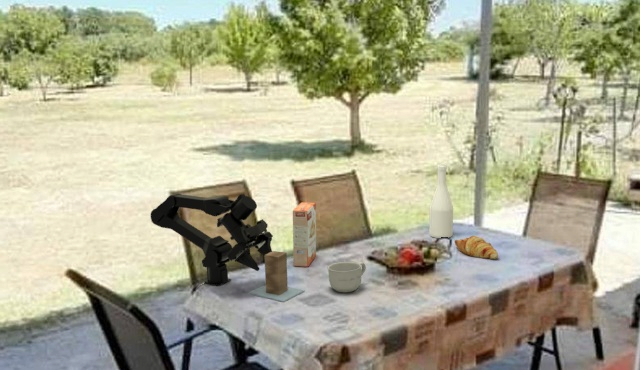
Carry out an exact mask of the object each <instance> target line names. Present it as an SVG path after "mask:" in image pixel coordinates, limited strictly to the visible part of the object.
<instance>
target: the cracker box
mask: <svg viewBox="0 0 640 370" xmlns="http://www.w3.org/2000/svg"><path fill="white" fill-rule="evenodd" d="M316 205H317V204H316V202H305V201H304V202H302V201H301V202H300V203H299V204H298V205H297V206H296V207H295V208H294V209H292V241H293V242H292V243H293V244H292V247H293V248H292V249H293V250H292V251H293V252H292V253H293V256H292V257H293V267H303V268H304V267H305V268H306V267H307V268H308V267H309V266H310V265H311V264H312V262H313V261H314V259H315V258H316V256H317V227H316V225H317V223H316V222H317V219H316V218H317V214H316V213H317V209H316Z"/></svg>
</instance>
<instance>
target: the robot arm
mask: <svg viewBox="0 0 640 370" xmlns="http://www.w3.org/2000/svg"><path fill="white" fill-rule="evenodd" d="M257 207H258V205H257V202H256V200H254V199H253V198H252V197H250V196H248V195H246V194H245V193H241V194H239V195H238V196H237V198H236V199H235V200H233V199H229V197H228V196H227V195H218V196H212V197H210V196H209V197H203V196H198V195H197V196H195V195H188V194H181V193H174V194H171V195H168V197H166V199H164V200H163V202H161V203H160V204H159V205H158V206H156V208H153V209H152V210H151V212H150V220H151V223H153V224H154V225H155V226H157V227H160V228H162V229H163V228H164V229H169V230H172V231H174V232H175V233H177V234H178V235H180V236H181V237H183V238H184V239H186V240H187V241H189V242H190V243H192V244H193V245H195V246H197V247H198V248H199V249H201V250H202V253H203V254H204V258H203V259H202V260H201V264H202V266H203V267H202V268H206V273H207V274H206V276H207V277H206V278H207V280H204V281H203V282H204V283H205V284H208V285H212V286H216V287H219V286H222V285H224V284H226V283H228V282H231V278H229V276H228V275H229V272H228V270H229V269H228V265H227V264H226V263H229V262H235V263H239V264H242V265H243V266H246V267H248V268H250V269H252V270H254V271H255V272H256V271H257V272H259V270H261V268H260V266H259V265H258V264H257V262H256V260H255V259H254V257H253V255H251V249H253V248H256V249H257V250H256V251H257V252H258V253H260V254H261V255H263V257H265V255H266V254H268V253H270V252H272V251H273V250H272V245H271V242H272V241H273V238H274V237H273V236H274V235H273V234H272V233H271V231H268V230H267V228H268V223H267V222H266V221H265V220H264V219H262V218H261V219H259V220H257V221H256V224H255V225H252V226H251V224H250V223H247V224H246V223H245V222H244V221H246V220H247V219H248V218H249V217H250V216H251V215H252V214H253V213H254V212H255V210H256V209H257ZM181 208H182V209H183V208H185V209H190V210H196V211H203V213H205V214H206V215H209V216H212V217H218V216H222V215H223V214H224V215H223V216H222V217H219V218H217V223H216V227H217V228H220V227H222V226H223V227H224V228H225V229H226V231H227V233H229V234H230V238H229V239H230V240H231V241H235V242H236V244H235V245H234V246H232V244H231V243H230V242H229V240H228V239H225V238H224V237H222V236H221V235H217V236H214V237H211V236H210V235H208V234H206V233H204V232H203V231H201V230H200V229H199V228H197V227H195V226H193V225H192V224H190V223H189V222H188V221H185V220H184V219H183V218H181V216H180V214H179V211H180V209H181ZM229 211H230V212H229Z"/></svg>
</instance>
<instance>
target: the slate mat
mask: <svg viewBox="0 0 640 370" xmlns="http://www.w3.org/2000/svg"><path fill="white" fill-rule="evenodd" d="M305 291H306V290H304V289H302V288H301V289H300V288H297V287H290V286H288V290H287V291H286V292H284V293H282V294H281V295H275V294H270V293H266V284H265V285H263V286H261V287H259V288H256V289H254V290H252V291H251V290H250V292H248V295H253V296H257V297H259V298H260V297H261V298H265V299H269V300H273V301H278V302H281V303H285V302H287V301H289V300H291V299H293V298H295V297H297V296H298V295H301V294H303V293H305Z"/></svg>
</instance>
